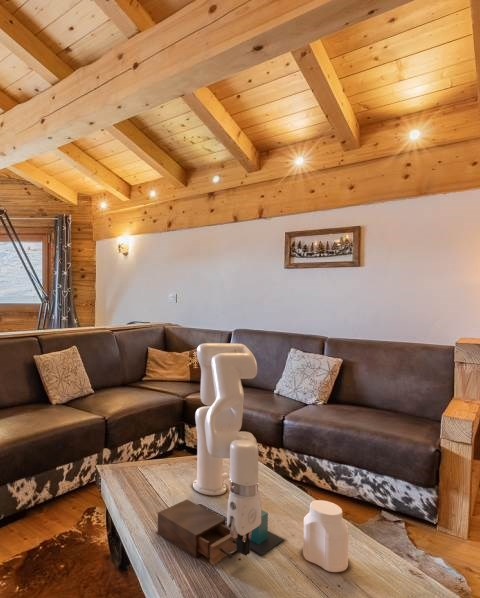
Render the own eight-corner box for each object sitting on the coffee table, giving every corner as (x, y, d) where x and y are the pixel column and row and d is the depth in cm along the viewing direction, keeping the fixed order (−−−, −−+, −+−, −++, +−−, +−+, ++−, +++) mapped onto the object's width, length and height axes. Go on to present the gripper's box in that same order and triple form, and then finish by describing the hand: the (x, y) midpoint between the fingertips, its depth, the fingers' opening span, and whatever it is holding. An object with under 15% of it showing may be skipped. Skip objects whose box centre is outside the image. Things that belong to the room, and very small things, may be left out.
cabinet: (225, 540, 130) (225, 519, 130) (195, 557, 122) (195, 535, 121) (186, 518, 142) (186, 499, 142) (157, 533, 134) (157, 512, 134)
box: (253, 530, 134) (253, 506, 134) (267, 538, 130) (268, 512, 130) (244, 536, 131) (244, 511, 131) (258, 544, 127) (258, 518, 127)
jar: (353, 562, 120) (354, 510, 119) (337, 576, 114) (338, 521, 113) (313, 543, 129) (314, 494, 128) (297, 555, 123) (297, 504, 122)
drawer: (252, 554, 122) (252, 538, 122) (225, 572, 114) (226, 555, 114) (201, 525, 136) (201, 510, 136) (174, 539, 129) (174, 524, 129)
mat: (249, 523, 139) (249, 522, 139) (284, 540, 130) (284, 539, 130) (227, 536, 132) (227, 535, 132) (261, 555, 123) (261, 554, 123)
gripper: (239, 500, 109) (238, 570, 109) (271, 483, 118) (270, 548, 119) (215, 489, 115) (214, 556, 115) (247, 474, 124) (247, 536, 125)
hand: (243, 552), depth 117 cm, fingers closed
